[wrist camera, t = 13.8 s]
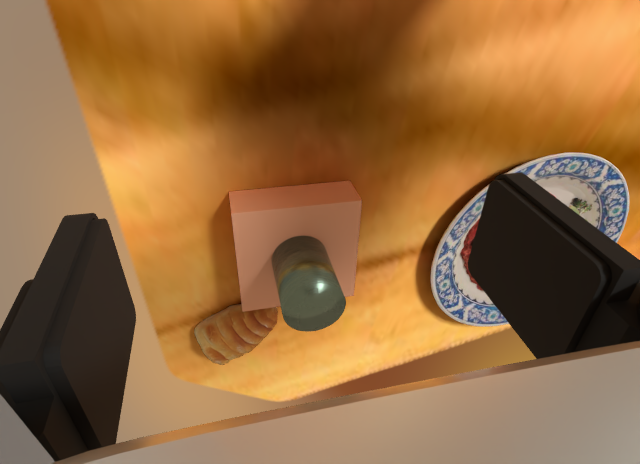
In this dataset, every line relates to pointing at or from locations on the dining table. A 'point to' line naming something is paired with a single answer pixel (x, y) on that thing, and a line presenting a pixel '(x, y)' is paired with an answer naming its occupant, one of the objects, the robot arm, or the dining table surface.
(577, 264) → the robot arm
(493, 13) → the dining table surface
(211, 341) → the pastry
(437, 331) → the dining table surface
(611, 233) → the ceramic plate
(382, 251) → the dining table surface
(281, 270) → the tea tin
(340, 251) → the terracotta stand
